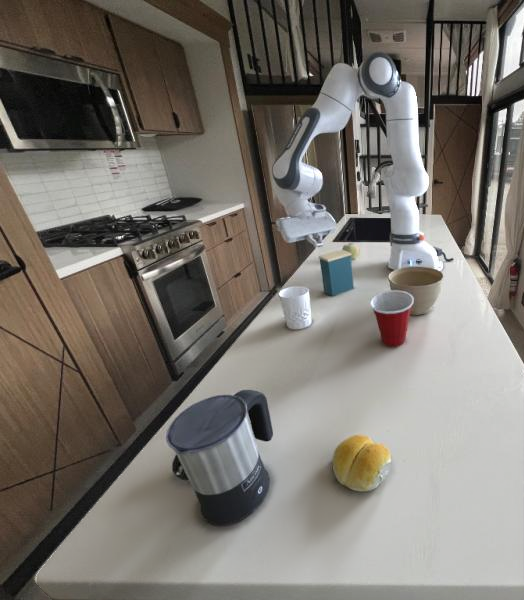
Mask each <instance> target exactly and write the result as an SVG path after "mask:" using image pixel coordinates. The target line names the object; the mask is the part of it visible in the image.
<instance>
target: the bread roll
mask: <svg viewBox="0 0 524 600" xmlns="http://www.w3.org/2000/svg"><path fill="white" fill-rule="evenodd" d="M391 458H392V455H391V452H390V451H389V449H388V448H387V447H386V446H385V445H384V444H383V443H378V442H373V441H372V439H371V438H370V437H369V436H367V435H363V434H355V435H351V436H349V437H347V438H345V439H344V440H343V441H342V442H340V443H339V445H338V446H336V449H335V451H334V452H333V457H332V470H333V473H334V477H335V478H336V480H337V482H338V483H340V484H341V485H343V486H345V487H347V488H348V489H350V490H351V491H355V492H370V491H372V490H374V489H376V488H378V487H379V485H380V484H381V483H382V482H383V481H384V480H385V478H386V477H387V475H388V474H389V472H390V470H391V468H392V459H391Z"/></svg>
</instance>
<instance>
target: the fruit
mask: <svg viewBox="0 0 524 600" xmlns="http://www.w3.org/2000/svg"><path fill="white" fill-rule="evenodd" d="M342 250H344V251H347V252H350V253H351V260H355V259H357V258H359V255H360V247H359V245H358V244H356V243H354V242H349V243H346V244H344V245H343V247H342Z"/></svg>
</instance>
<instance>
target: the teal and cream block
mask: <svg viewBox="0 0 524 600" xmlns="http://www.w3.org/2000/svg"><path fill="white" fill-rule="evenodd" d="M318 259H319V262H320V263H319V265H320V272H321V279H322V288H323V293H325V294H327V295H329V296H331V297H334V296H337V295H339V294H342V293H345V292H347V291H350V290H353V289H354V278H353V277H354V276H353V265H352V259H351V253H350V252H347V251H344V250H343V249H339V250H336V251H333V252H332V251H331V252H328V253H325V254H321V255H318Z"/></svg>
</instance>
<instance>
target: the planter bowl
mask: <svg viewBox="0 0 524 600" xmlns="http://www.w3.org/2000/svg"><path fill="white" fill-rule="evenodd" d="M387 280H388V282H389V289H390V291H392V290H399V291H405V292H407V293H409V294H411V295H412V296H413V298H414V303H413V305H412V307H411V311H410V315H413V316H417V315H424V314H427V313H429V312H431V310H432V309H433V306H434V305H435V303H436V302H437V301H438V299H439V297H440V295H441V292H442V288H443V282H444V273H443V272H442V270H440V271H439V270H437V269H434V268H430V267H423V266H411V267H404V268H400V269H397V270H392V271H391V272H390V273H389V274H388V279H387Z"/></svg>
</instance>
